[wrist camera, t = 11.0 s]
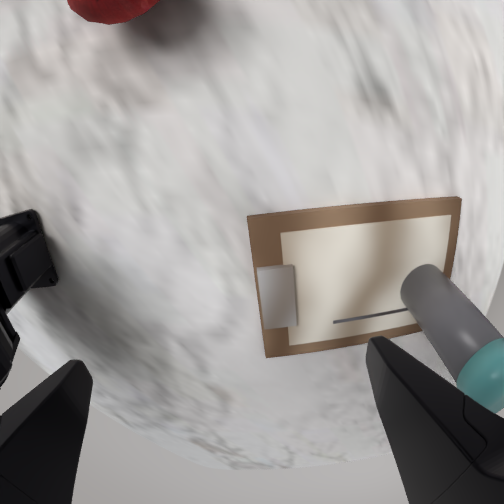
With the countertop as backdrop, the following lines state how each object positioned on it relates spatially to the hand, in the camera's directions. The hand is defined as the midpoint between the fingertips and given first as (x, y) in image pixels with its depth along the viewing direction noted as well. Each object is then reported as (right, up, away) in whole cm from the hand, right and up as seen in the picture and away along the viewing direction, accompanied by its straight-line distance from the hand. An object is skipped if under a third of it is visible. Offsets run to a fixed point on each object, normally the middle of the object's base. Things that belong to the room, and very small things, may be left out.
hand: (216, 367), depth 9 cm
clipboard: (+9, +1, +14) cm, 17 cm away
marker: (+14, +1, +14) cm, 20 cm away
